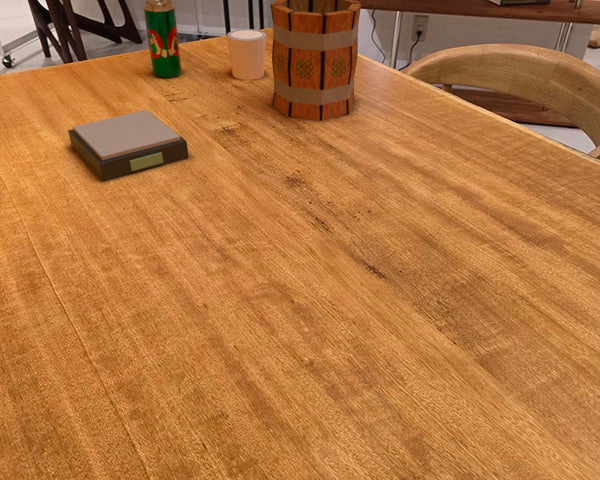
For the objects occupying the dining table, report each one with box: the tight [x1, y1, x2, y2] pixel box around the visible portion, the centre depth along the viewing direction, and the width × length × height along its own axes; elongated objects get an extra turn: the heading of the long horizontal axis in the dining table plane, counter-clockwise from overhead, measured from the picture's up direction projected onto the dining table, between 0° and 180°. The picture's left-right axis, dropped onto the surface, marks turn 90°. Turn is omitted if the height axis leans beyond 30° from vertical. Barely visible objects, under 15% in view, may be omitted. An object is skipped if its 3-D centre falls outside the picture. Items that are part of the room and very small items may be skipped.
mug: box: [270, 0, 362, 122], centre depth 93 cm, size 20×14×15 cm
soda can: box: [143, 0, 182, 79], centre depth 102 cm, size 5×5×12 cm
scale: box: [67, 109, 189, 182], centre depth 80 cm, size 12×12×3 cm
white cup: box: [226, 28, 267, 81], centre depth 104 cm, size 7×7×7 cm
